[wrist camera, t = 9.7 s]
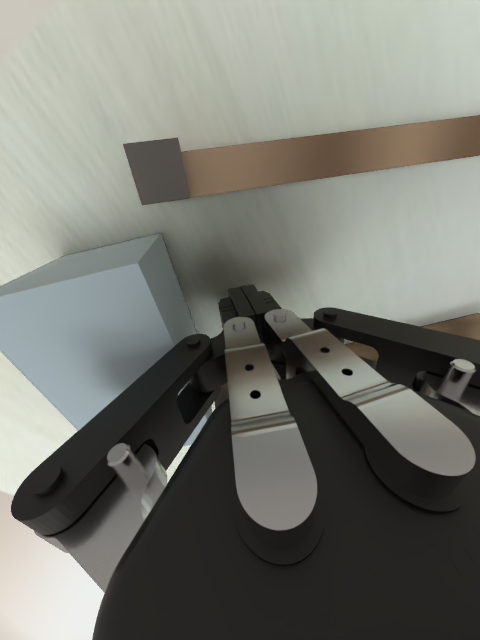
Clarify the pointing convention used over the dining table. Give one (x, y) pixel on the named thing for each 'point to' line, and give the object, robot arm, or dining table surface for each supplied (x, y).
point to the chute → (302, 172)
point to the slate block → (94, 324)
